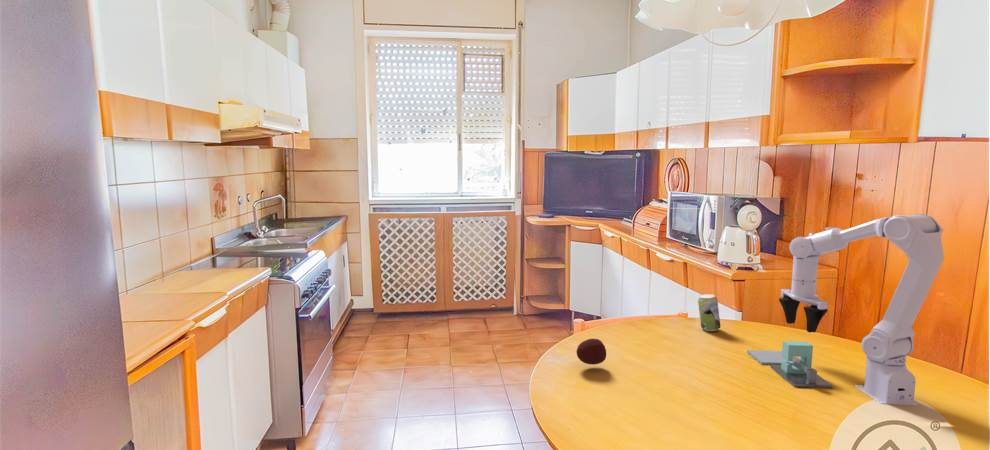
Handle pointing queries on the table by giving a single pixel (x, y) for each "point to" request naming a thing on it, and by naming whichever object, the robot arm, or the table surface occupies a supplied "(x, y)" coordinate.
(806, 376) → the stand
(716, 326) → the beverage can
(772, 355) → the mat
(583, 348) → the dark brown ball
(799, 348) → the c link
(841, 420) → the table surface
